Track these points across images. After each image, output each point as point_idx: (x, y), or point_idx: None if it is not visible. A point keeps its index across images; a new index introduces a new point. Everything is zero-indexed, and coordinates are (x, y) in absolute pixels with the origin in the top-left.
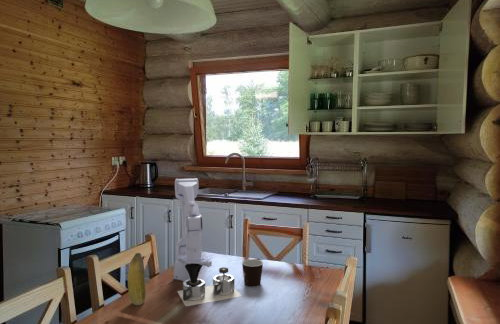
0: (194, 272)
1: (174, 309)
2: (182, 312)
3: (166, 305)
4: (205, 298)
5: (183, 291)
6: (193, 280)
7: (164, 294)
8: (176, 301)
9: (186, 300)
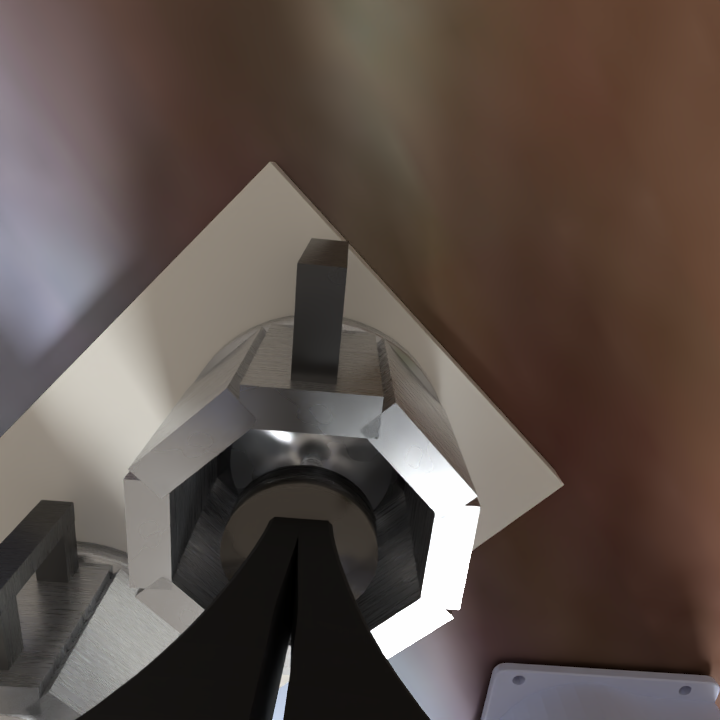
0: (161, 665)
1: (402, 99)
2: (264, 58)
3: (549, 165)
4: None
5: (339, 261)
6: (267, 540)
7: (688, 409)
8: (478, 303)
9: (344, 311)
